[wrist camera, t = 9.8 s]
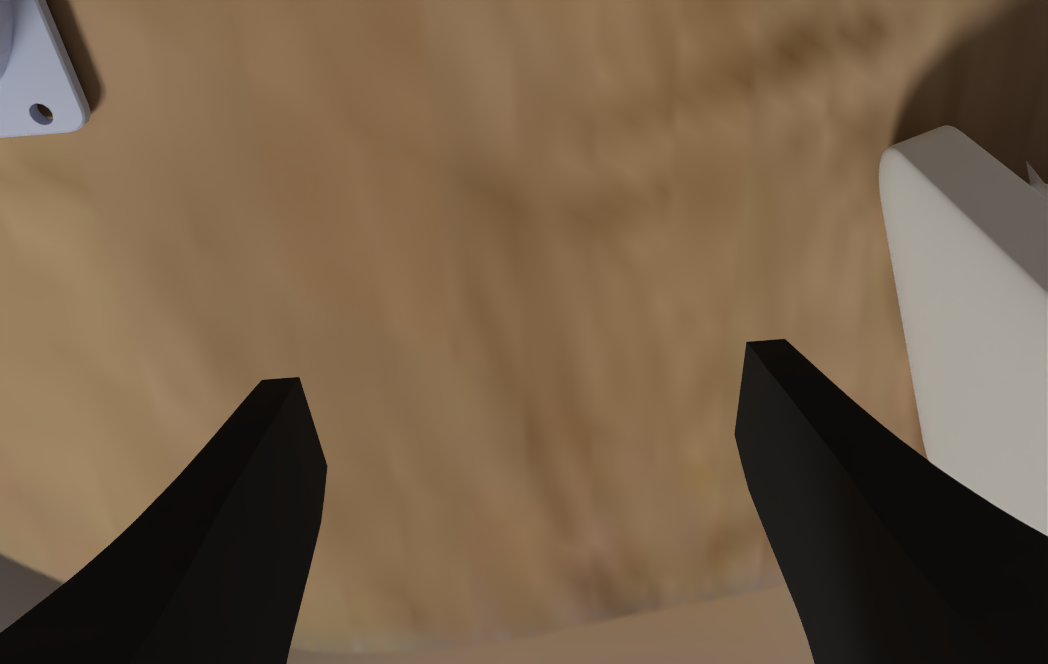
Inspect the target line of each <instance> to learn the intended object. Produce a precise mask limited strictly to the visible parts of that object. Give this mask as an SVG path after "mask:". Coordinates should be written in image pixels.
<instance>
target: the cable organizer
mask: <svg viewBox="0 0 1048 664" xmlns="http://www.w3.org/2000/svg"><path fill="white" fill-rule="evenodd" d="M1026 164H1027V169H1028V175H1029V180H1030V183H1028V184H1027V183H1026V182H1025V181H1024V180H1022V179H1021V178H1020V177H1018V176H1017V175H1016V174H1015V173H1013V172H1012V171H1011V170H1010V169H1008V168H1007V167H1006V166H1005V165H1003V164H1002V163H1001V162H999V161H998V160H997V159H996V158H994V157H993V156H992V155H991V154H989V153H988V152H987V151H985V150H984V149H983V148H982V147H980V146H979V145H978V144H977V143H975V142H974V141H973V140H971V139H970V138H969V137H968V136H966V135H965V134H964V133H963V132H961V131H960V130H958V129H957V128H955V127H953V126H949V125H945V126H941V127H938V128H936V129H933V130H930V131H928V132H925V133H923V134H920V135H918V136H915V137H912V138H910V139H907V140H905V141H902V142H900V143H897V144H894V145H892V146H889V147H888V148H887V149H885V150H884V152H883V154H882V156H881V160H880V166H879V190H880V198H881V205H882V210H883V216H884V222H885V227H886V233H887V239H888V244H889V250H890V256H891V261H892V267H893V273H894V279H895V284H896V290H897V296H898V301H899V307H900V313H901V318H902V324H903V330H904V335H905V341H906V347H907V352H908V358H909V364H910V369H911V375H912V381H913V387H914V392H915V398H916V404H917V409H918V415H919V421H920V426H921V432H922V438H923V442H924V447H925V451H926V454H927V457H928V461H930V462H931V463H932V464H934V465H935V466H936V467H938V468H939V469H941V470H942V471H943V472H945V473H946V474H948V475H949V476H951V477H952V478H954V479H955V480H957V481H958V482H960V483H961V484H963V485H964V486H966V487H967V488H969V489H970V490H972V491H973V492H975V493H976V494H978V495H980V496H981V497H983V498H984V499H986V500H987V501H989V502H990V503H992V504H993V505H995V506H997V507H998V508H1000V509H1001V510H1003V511H1005V512H1006V513H1008V514H1010V515H1011V516H1013V517H1015V518H1016V519H1018V520H1020V521H1021V522H1023V523H1025V524H1027V525H1029V526H1030V527H1032V528H1034V529H1036V530H1037V531H1039V532H1041V533H1043V534H1045V535H1046V536H1048V184H1045V183H1044V182H1043V181H1042V180H1041V178H1040V177H1039V176H1038V175H1037V173H1036V172H1035V171H1034V169H1033V168H1032V167H1031V166H1030V164H1029V163H1028V162H1027V161H1026Z"/></svg>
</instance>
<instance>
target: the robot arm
mask: <svg viewBox="0 0 1048 664" xmlns="http://www.w3.org/2000/svg"><path fill="white" fill-rule="evenodd" d="M37 104H43V105H44V106H46V107H48V108H49V110H50V111H51V112H52V114H53V119H50V118H47V117H45V116H43V115H42V114H41V113H40V112H39V110H38V108H37ZM90 114H91V113H90V108H89V104H88V102H87V100H86V97H85V95H84V92H83V90H82V87H81V85H80V83H79V80H78V78H77V75H76V73H75V71H74V68H73V66H72V63H71V61H70V58H69V56H68V54H67V51H66V49H65V46H64V44H63V42H62V39H61V37H60V34H59V32H58V29H57V27H56V25H55V22H54V20H53V17H52V15H51V13H50V10H49V8H48V5H47V3H46V0H0V138H4V137H16V136H29V135H41V134H53V133H65V132H73V131H77V130H79V129H80V128H81V127H83V126H84V125H85V124H86V123H87V122H88V121H89V118H90ZM735 439H736V443H737V447H738V451H739V455H740V459H741V463H742V467H743V470H744V474H745V478H746V481H747V485H748V489H749V492H750V494H751V497H752V499H753V502H754V505H755V507H756V510H757V512H758V515H759V517H760V520H761V522H762V525H763V527H764V530H765V532H766V535H767V537H768V539H769V542H770V544H771V547H772V549H773V552H774V554H775V557H776V559H777V562H778V564H779V566H780V569H781V571H782V574H783V576H784V579H785V581H786V584H787V586H788V589H789V591H790V593H791V596H792V598H793V601H794V603H795V606H796V608H797V611H798V613H799V616H800V619H801V622H802V625H803V627H804V630H805V633H806V636H807V639H808V642H809V646H810V649H811V652H812V655H813V659H814V663H815V664H1048V536H1046V535H1045V534H1043V533H1041V532H1039V531H1037V530H1036V529H1034V528H1032V527H1030V526H1029V525H1027V524H1025V523H1023V522H1021V521H1020V520H1018V519H1016V518H1015V517H1013V516H1011V515H1010V514H1008V513H1006V512H1005V511H1003V510H1001V509H1000V508H998V507H997V506H995V505H993V504H992V503H990V502H989V501H987V500H986V499H984V498H983V497H981V496H980V495H978V494H976V493H975V492H973V491H972V490H970V489H969V488H967V487H966V486H964V485H963V484H961V483H960V482H958V481H957V480H955V479H954V478H952V477H951V476H949V475H948V474H946V473H945V472H943V471H942V470H941V469H939V468H938V467H936V466H935V465H934V464H932V463H931V462H930V461H928V460H927V459H926V458H924V457H923V456H922V455H920V454H919V453H918V452H916V451H915V450H914V449H912V448H911V447H910V446H908V445H907V444H906V443H904V442H903V441H902V440H900V439H899V438H898V437H897V436H895V435H894V434H893V433H892V432H890V431H889V430H888V429H887V428H885V427H884V426H883V425H882V424H880V423H879V422H878V421H877V420H876V419H874V418H873V417H872V416H871V415H870V414H868V413H867V412H866V411H865V410H864V409H862V408H861V407H860V406H859V405H858V404H857V403H855V402H854V401H853V400H852V399H851V398H850V397H849V396H847V395H846V394H845V393H844V392H843V391H842V390H841V389H839V388H838V387H837V386H836V385H835V384H834V383H833V382H832V381H831V380H829V379H828V378H827V377H826V376H825V375H824V374H823V373H822V372H821V371H820V370H818V369H817V368H816V367H815V366H814V365H813V364H812V363H811V362H810V361H809V360H807V359H806V358H805V357H804V356H803V355H802V354H801V353H800V352H799V351H798V350H796V349H795V348H794V347H793V346H792V345H791V344H790V343H789V342H788V341H786V340H785V339H778V340H766V341H753V342H746V350H745V358H744V365H743V373H742V381H741V389H740V396H739V404H738V412H737V419H736V427H735ZM326 474H327V464H326V460H325V457H324V454H323V451H322V448H321V445H320V441H319V438H318V435H317V432H316V429H315V426H314V422H313V419H312V416H311V413H310V410H309V407H308V403H307V400H306V397H305V394H304V391H303V388H302V384H301V381H300V378H299V377H294V378H281V379H268V380H261V382H260V383H259V384H258V385H257V386H256V387H255V388H254V389H253V391H252V392H251V393H250V394H249V395H248V396H247V397H246V399H245V400H244V401H243V402H242V403H241V404H240V406H239V407H238V408H237V409H236V410H235V412H234V413H233V414H232V415H231V416H230V417H229V419H228V420H227V421H226V422H225V423H224V425H223V426H222V427H221V428H220V429H219V430H218V432H217V433H216V434H215V435H214V436H213V437H212V439H211V440H210V441H209V442H208V443H207V444H206V446H205V447H204V448H203V449H202V450H201V451H200V452H199V453H198V455H197V456H196V457H195V458H194V459H193V460H192V461H191V462H190V464H189V465H188V466H187V467H186V468H185V469H184V470H183V471H182V473H181V474H180V475H179V476H178V477H177V478H176V479H175V480H174V481H173V482H172V483H171V484H170V485H169V486H168V487H167V488H166V489H165V491H164V492H163V493H162V494H161V495H160V496H159V497H158V498H157V499H156V500H155V501H154V502H153V503H152V504H151V505H150V506H149V507H148V508H147V509H146V510H145V511H144V512H143V513H142V514H141V515H140V516H139V517H138V518H137V519H136V520H135V521H134V522H133V523H132V524H131V525H130V526H129V527H128V528H127V529H126V530H125V531H124V532H123V533H122V534H121V535H120V536H118V537H117V538H116V539H115V540H114V541H113V542H112V543H111V544H110V545H109V546H108V547H106V548H105V549H104V550H103V551H102V552H101V553H100V554H98V555H97V556H96V557H95V558H94V559H93V560H92V561H90V562H89V563H88V564H87V565H86V566H85V567H84V568H83V569H81V570H80V571H79V572H78V573H77V574H75V575H74V576H73V577H72V578H71V579H69V580H68V581H67V582H66V583H64V584H63V585H62V586H61V587H59V588H58V589H57V590H55V591H54V592H53V593H52V594H50V595H49V596H48V597H46V598H45V599H44V600H43V601H41V602H40V603H39V604H37V605H36V606H35V607H34V608H32V609H31V610H30V611H28V612H27V613H26V614H25V615H24V616H22V617H21V618H20V619H18V620H17V621H16V622H15V623H13V624H12V625H11V626H9V627H8V628H6V629H5V630H4V631H2V632H1V633H0V664H286V663H287V658H288V653H289V649H290V645H291V641H292V637H293V633H294V629H295V625H296V621H297V617H298V613H299V609H300V605H301V601H302V597H303V593H304V589H305V585H306V582H307V578H308V574H309V570H310V566H311V562H312V558H313V554H314V549H315V545H316V541H317V537H318V533H319V529H320V524H321V518H322V510H323V502H324V494H325V484H326Z"/></svg>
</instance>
